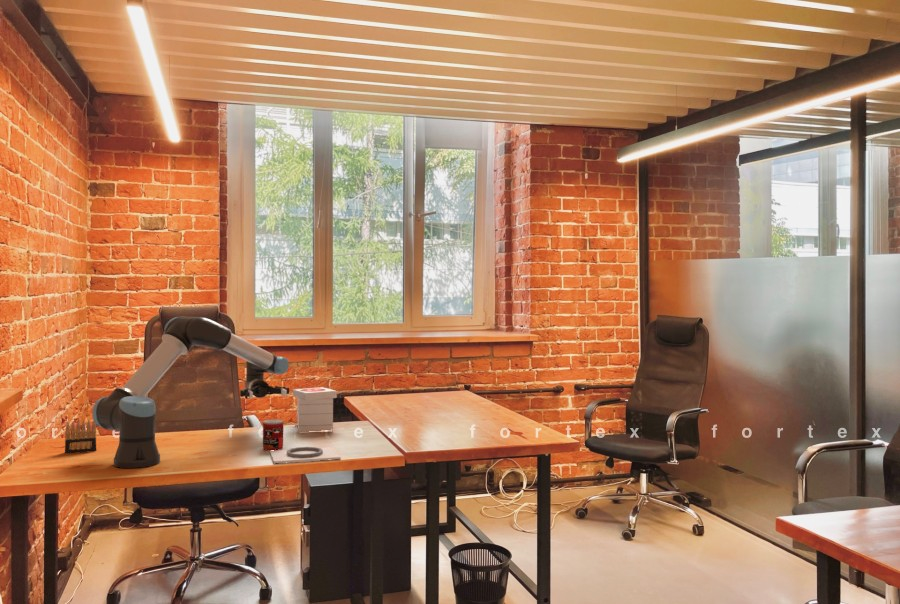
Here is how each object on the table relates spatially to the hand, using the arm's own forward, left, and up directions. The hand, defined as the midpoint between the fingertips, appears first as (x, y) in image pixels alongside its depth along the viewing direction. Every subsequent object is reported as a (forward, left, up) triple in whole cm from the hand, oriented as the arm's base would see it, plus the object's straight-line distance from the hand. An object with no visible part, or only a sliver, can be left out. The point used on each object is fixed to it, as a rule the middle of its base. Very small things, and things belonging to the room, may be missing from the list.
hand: (268, 394), depth 280 cm
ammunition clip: (-34, +61, -20) cm, 72 cm away
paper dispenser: (+38, -2, -20) cm, 43 cm away
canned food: (-8, -6, -20) cm, 23 cm away
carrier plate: (-17, -24, -20) cm, 36 cm away
